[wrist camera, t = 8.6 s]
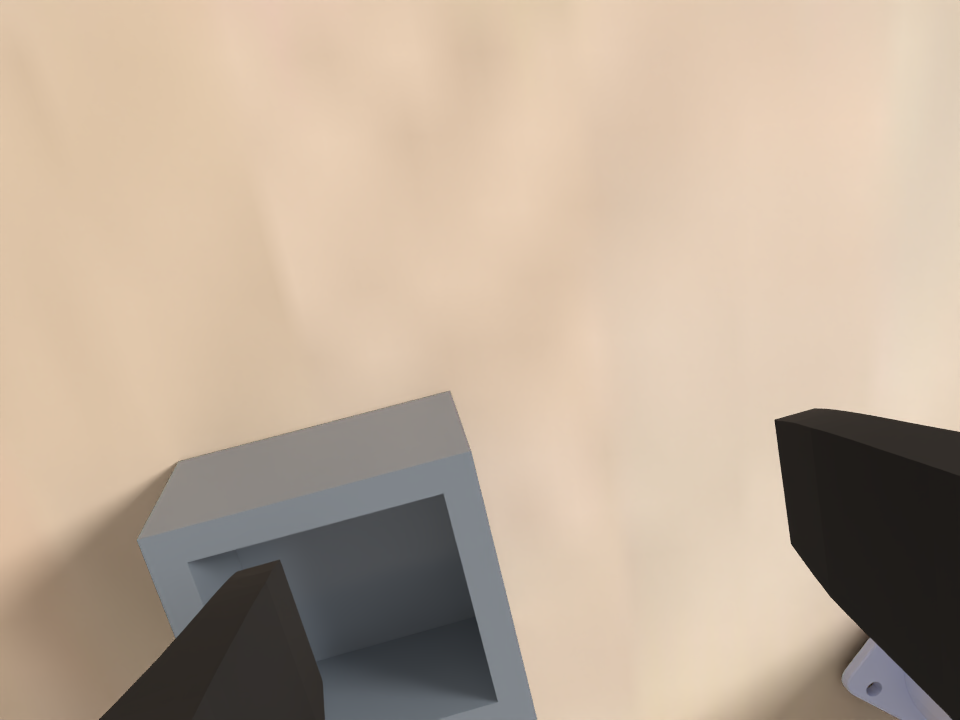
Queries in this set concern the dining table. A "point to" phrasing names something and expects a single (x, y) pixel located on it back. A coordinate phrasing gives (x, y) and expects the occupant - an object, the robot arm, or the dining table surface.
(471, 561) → the grey square socket
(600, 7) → the dining table surface
